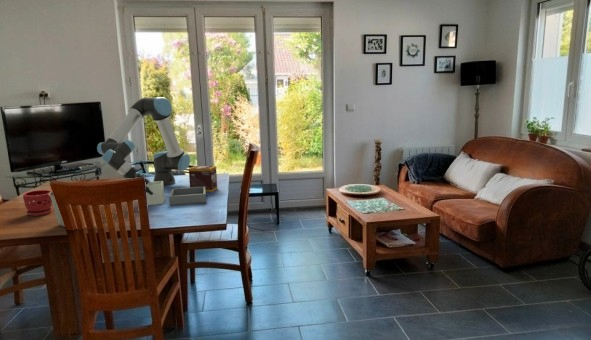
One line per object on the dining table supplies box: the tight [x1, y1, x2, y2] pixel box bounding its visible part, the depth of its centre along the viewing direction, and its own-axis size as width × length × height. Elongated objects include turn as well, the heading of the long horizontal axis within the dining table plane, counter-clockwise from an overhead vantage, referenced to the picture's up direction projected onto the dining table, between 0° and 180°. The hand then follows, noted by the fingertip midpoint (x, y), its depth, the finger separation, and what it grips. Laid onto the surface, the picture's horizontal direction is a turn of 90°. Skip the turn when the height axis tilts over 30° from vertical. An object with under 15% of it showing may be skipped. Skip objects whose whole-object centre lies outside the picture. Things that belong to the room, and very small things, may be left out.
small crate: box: [146, 181, 165, 206], centre depth 230 cm, size 11×11×12 cm
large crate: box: [168, 187, 207, 207], centre depth 234 cm, size 20×20×6 cm
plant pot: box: [22, 189, 53, 217], centre depth 211 cm, size 13×13×12 cm
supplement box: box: [188, 165, 218, 193], centre depth 259 cm, size 10×15×16 cm
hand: (158, 195), depth 231 cm, fingers closed on small crate, 11 cm apart
